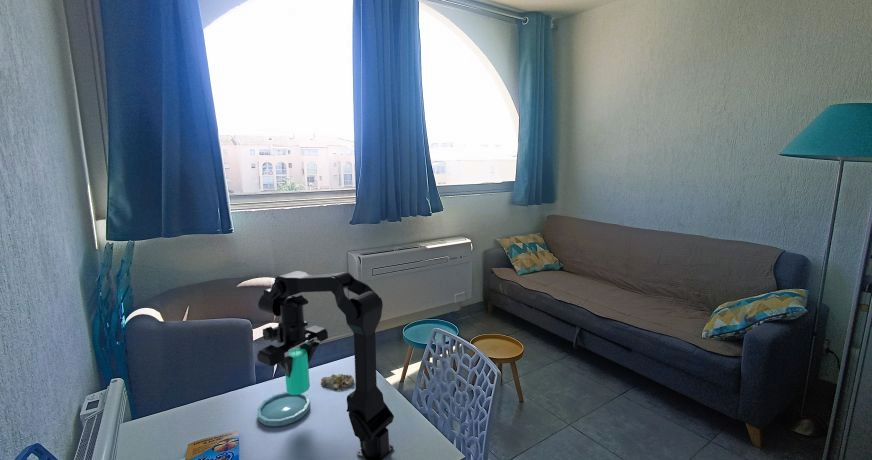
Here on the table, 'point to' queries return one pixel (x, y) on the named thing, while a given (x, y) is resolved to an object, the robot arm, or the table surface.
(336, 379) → the mineral rock
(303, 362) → the candle
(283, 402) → the dish
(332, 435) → the table surface
